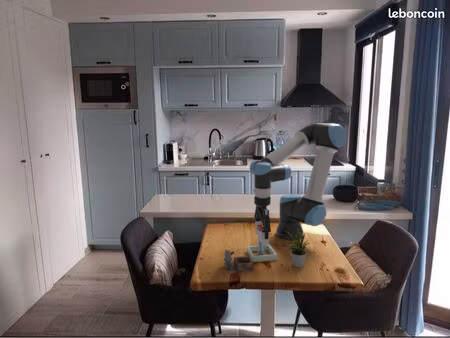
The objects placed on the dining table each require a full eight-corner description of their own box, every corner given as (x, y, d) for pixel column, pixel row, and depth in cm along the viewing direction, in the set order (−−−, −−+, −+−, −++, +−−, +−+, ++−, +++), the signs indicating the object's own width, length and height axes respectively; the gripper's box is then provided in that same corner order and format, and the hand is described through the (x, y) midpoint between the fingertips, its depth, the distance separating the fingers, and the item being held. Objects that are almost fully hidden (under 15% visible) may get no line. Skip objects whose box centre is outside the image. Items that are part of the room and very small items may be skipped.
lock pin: (264, 253, 165) (265, 224, 162) (267, 257, 160) (267, 227, 158) (255, 254, 164) (255, 224, 161) (258, 258, 160) (258, 228, 157)
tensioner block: (249, 263, 157) (249, 244, 155) (254, 274, 147) (255, 253, 145) (222, 266, 155) (222, 246, 153) (226, 276, 145) (226, 256, 143)
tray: (269, 252, 169) (269, 244, 168) (276, 262, 158) (277, 254, 157) (247, 254, 167) (247, 246, 166) (252, 264, 156) (252, 256, 155)
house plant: (279, 256, 164) (280, 224, 161) (308, 256, 164) (309, 224, 161) (283, 270, 150) (284, 236, 147) (314, 271, 150) (316, 236, 147)
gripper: (248, 189, 168) (248, 230, 172) (261, 204, 144) (261, 250, 148) (263, 189, 169) (262, 229, 173) (278, 203, 145) (277, 249, 149)
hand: (261, 239), depth 161 cm, fingers open, 13 cm apart
